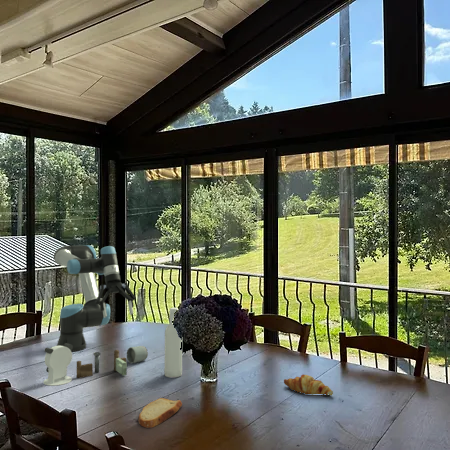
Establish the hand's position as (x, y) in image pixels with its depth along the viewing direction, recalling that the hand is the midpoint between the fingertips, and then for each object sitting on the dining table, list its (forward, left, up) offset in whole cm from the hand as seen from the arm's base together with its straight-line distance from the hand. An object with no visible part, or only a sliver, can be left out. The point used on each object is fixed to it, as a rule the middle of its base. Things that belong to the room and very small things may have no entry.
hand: (118, 315), depth 220 cm
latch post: (+12, -15, -22) cm, 29 cm away
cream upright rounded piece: (+13, -32, -23) cm, 41 cm away
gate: (+20, -6, -22) cm, 30 cm away
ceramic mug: (+5, +7, -23) cm, 24 cm away
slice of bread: (+68, -10, -23) cm, 72 cm away
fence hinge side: (+14, -5, -22) cm, 27 cm away
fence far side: (+14, -20, -22) cm, 33 cm away
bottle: (+34, +13, -23) cm, 42 cm away
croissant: (+82, +49, -23) cm, 98 cm away
